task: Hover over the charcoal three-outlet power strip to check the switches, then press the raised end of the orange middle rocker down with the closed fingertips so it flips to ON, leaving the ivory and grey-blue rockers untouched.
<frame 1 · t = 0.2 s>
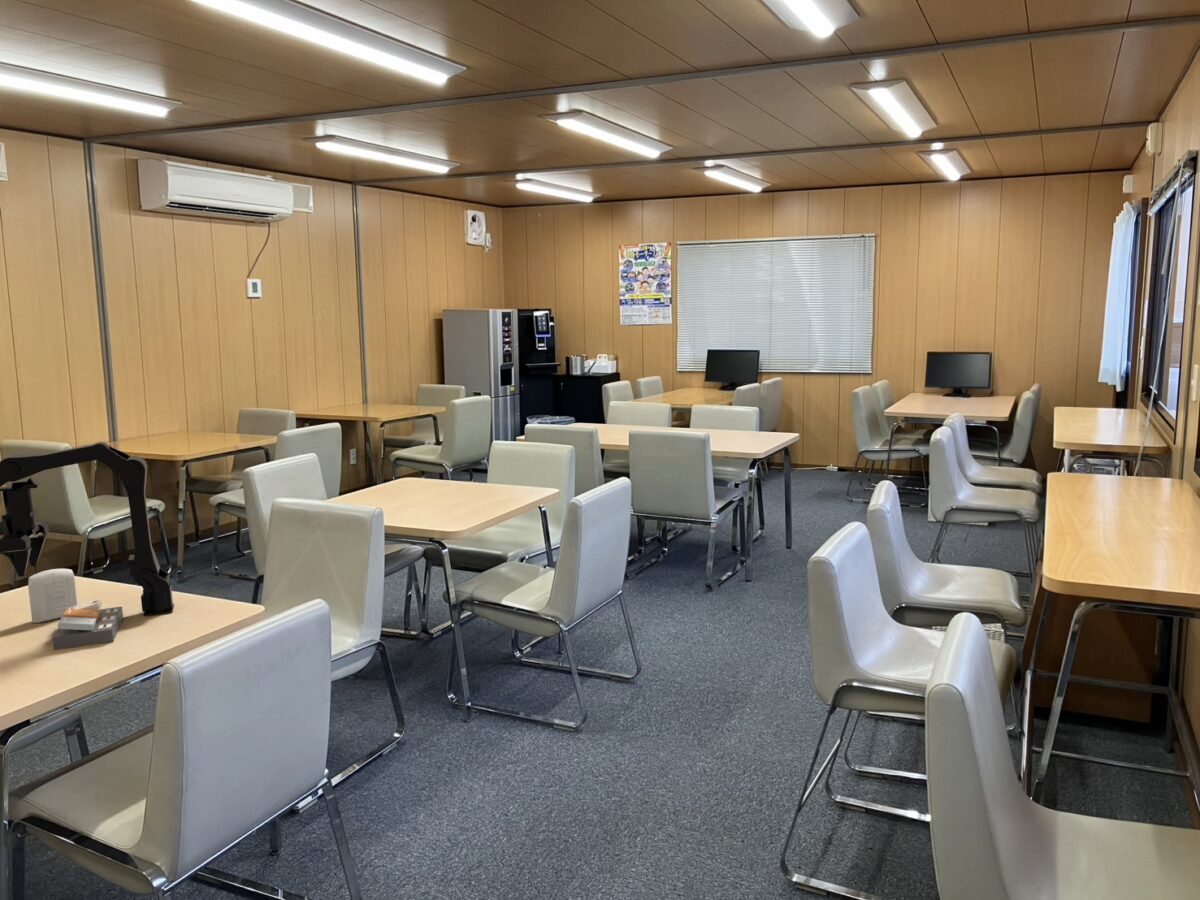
hand: (27, 571, 216), 14 cm above the table, fingers open, 9 cm apart
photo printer: (56, 618, 226), on the table
ivory rocker: (84, 608, 218), point 5 cm above the table, hinge at 12.0°
power strip: (90, 633, 214), on the table
grey-blue rocker: (77, 623, 207), point 5 cm above the table, hinge at -12.0°
orange rocker: (81, 615, 213), point 5 cm above the table, hinge at -12.0°
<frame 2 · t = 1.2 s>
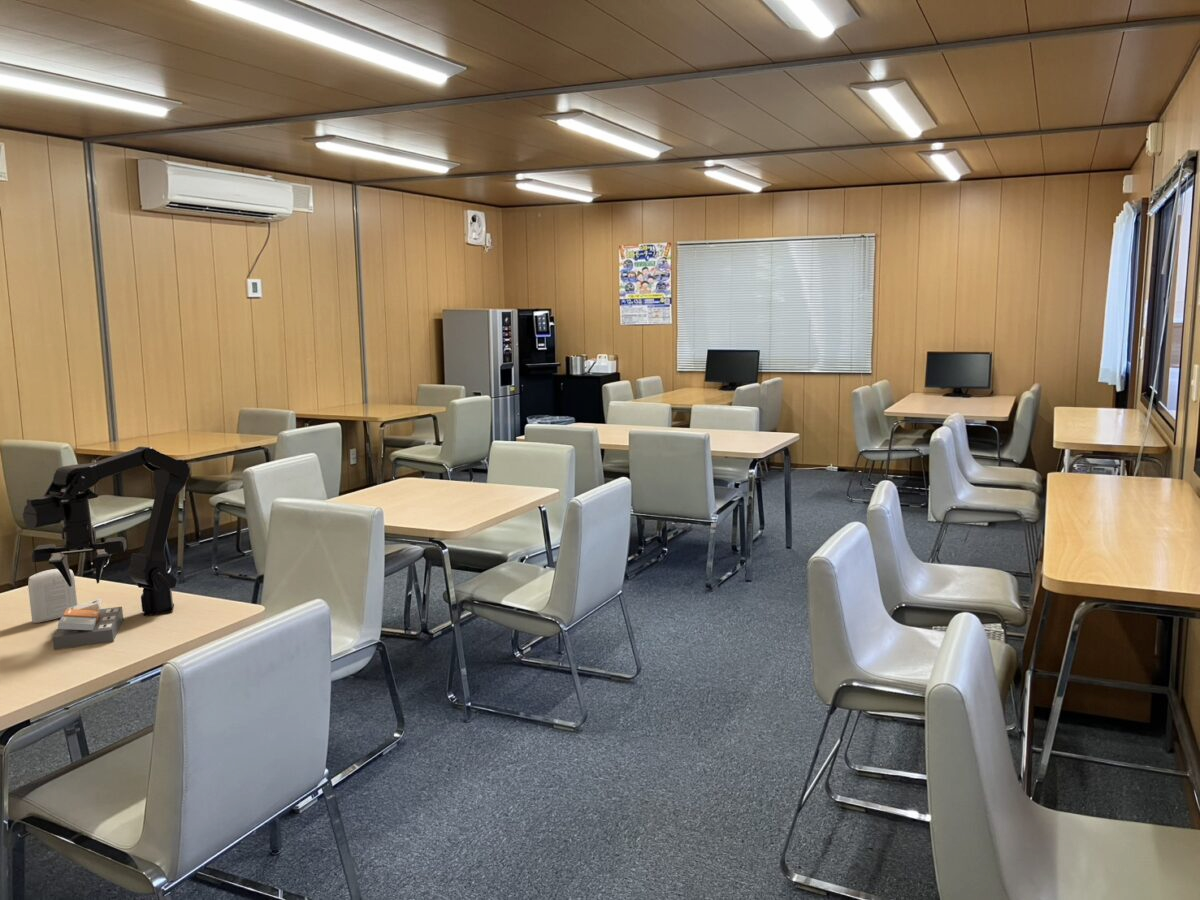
hand: (84, 584, 212), 12 cm above the table, fingers open, 5 cm apart
nothing on the table moved.
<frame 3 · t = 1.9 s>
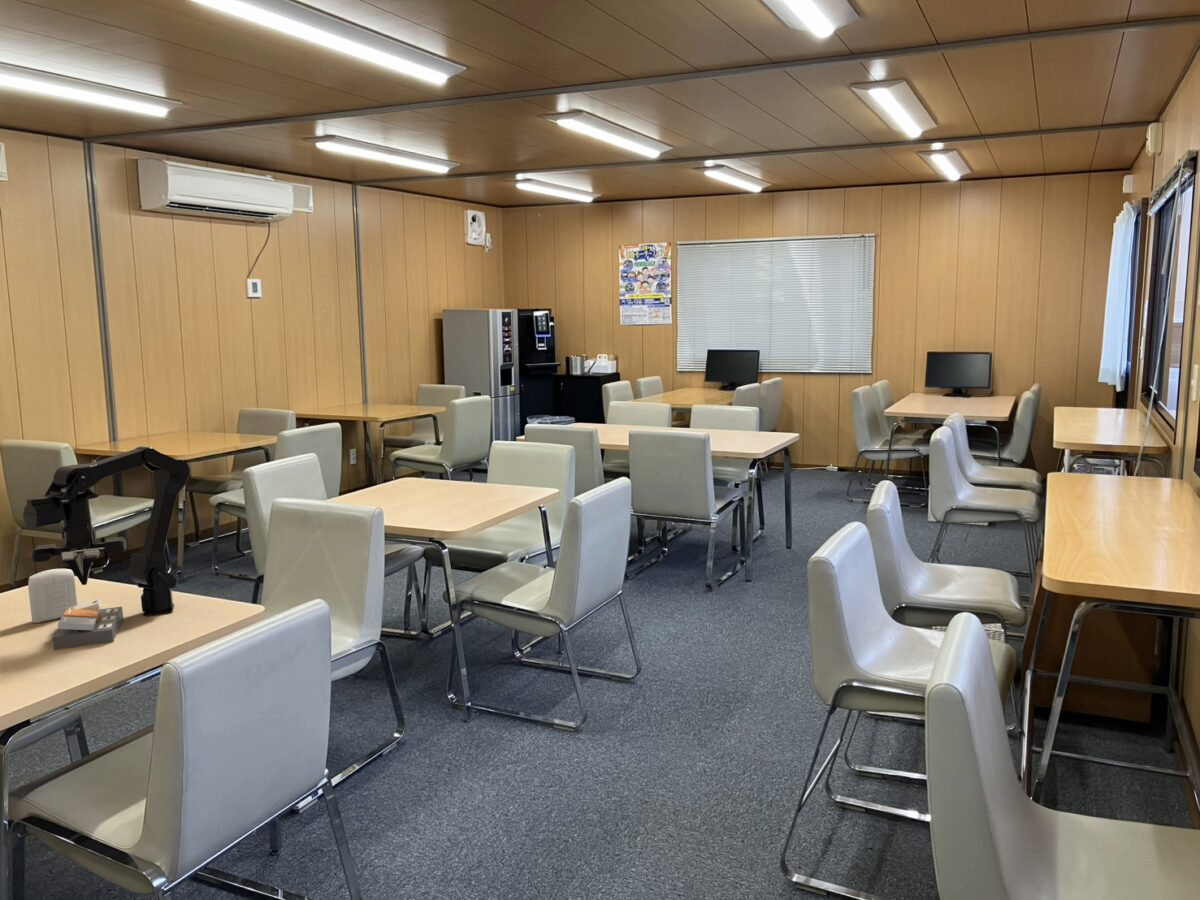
hand: (84, 584, 212), 12 cm above the table, fingers closed
nothing on the table moved.
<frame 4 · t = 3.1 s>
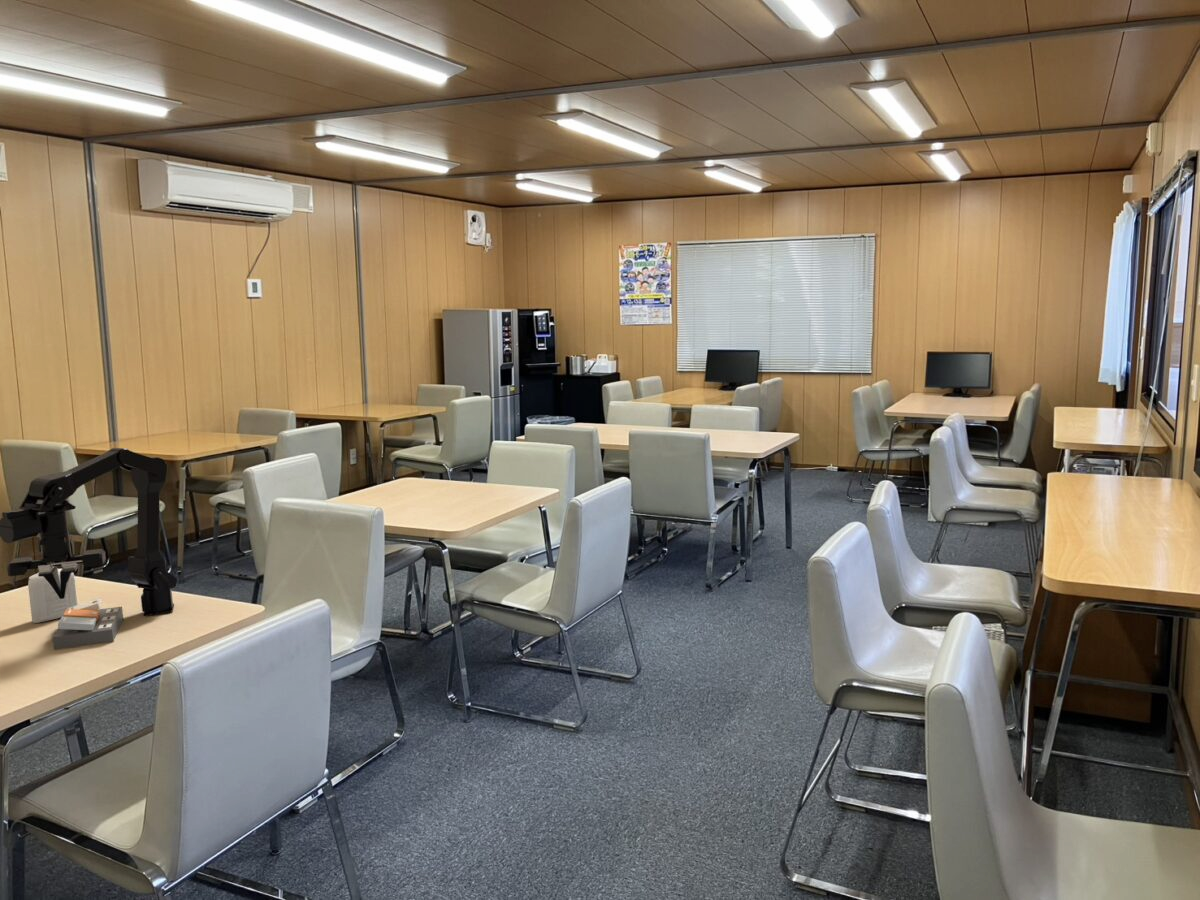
hand: (62, 598, 207), 11 cm above the table, fingers closed
nothing on the table moved.
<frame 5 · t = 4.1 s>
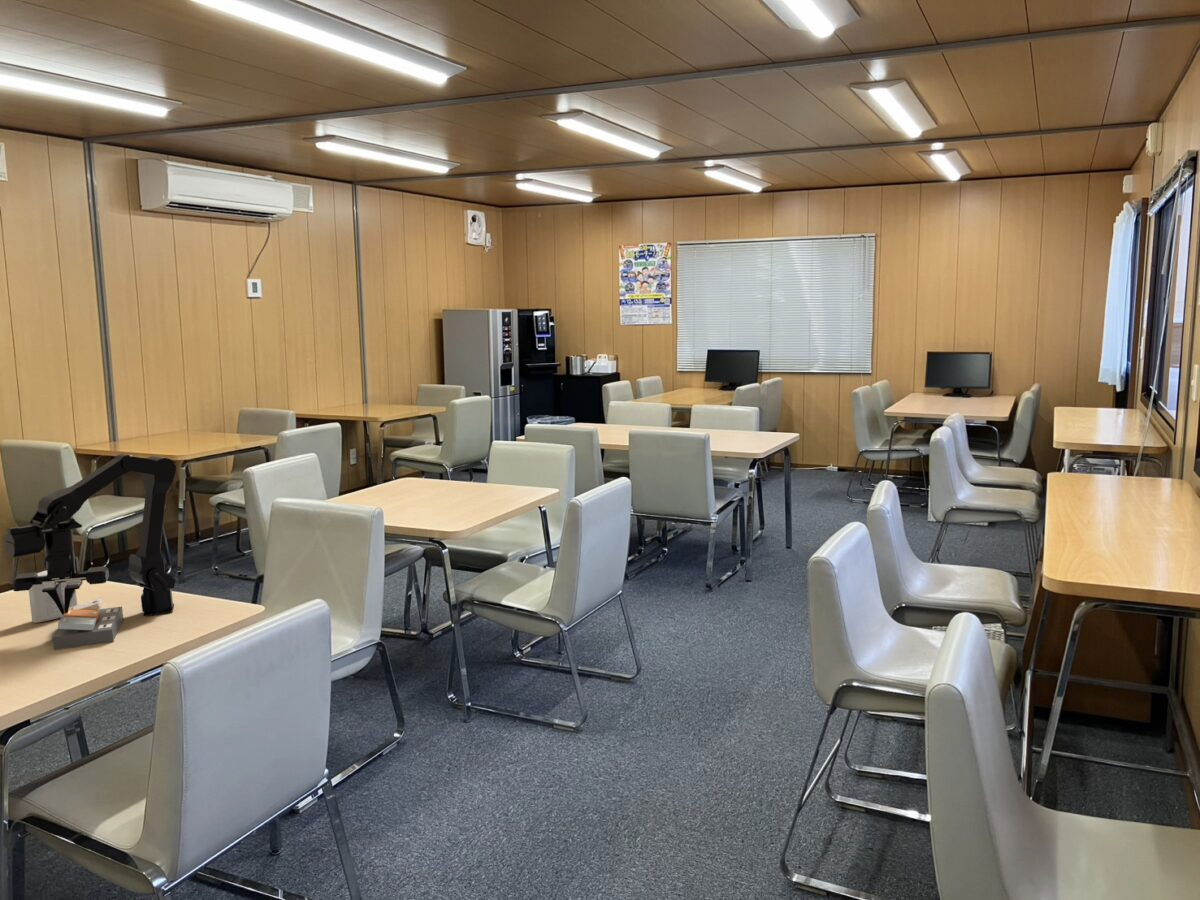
hand: (65, 613, 211), 5 cm above the table, fingers closed, pressing on orange rocker
orange rocker: (81, 615, 213), point 5 cm above the table, hinge at -11.1°, touching gripper
everything else where it was.
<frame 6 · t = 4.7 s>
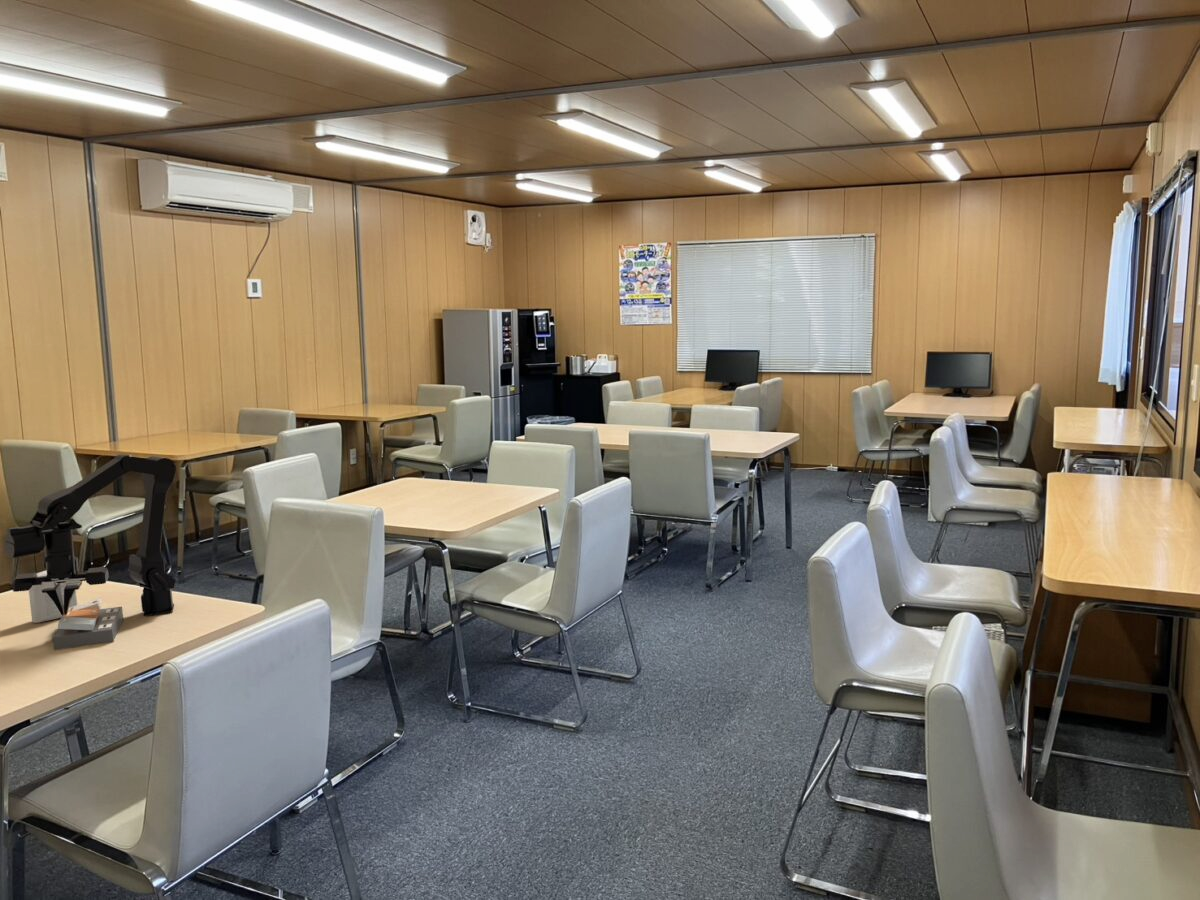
hand: (64, 614, 211), 5 cm above the table, fingers closed, pressing on orange rocker
orange rocker: (81, 615, 213), point 5 cm above the table, hinge at -3.4°, touching gripper
everything else where it was.
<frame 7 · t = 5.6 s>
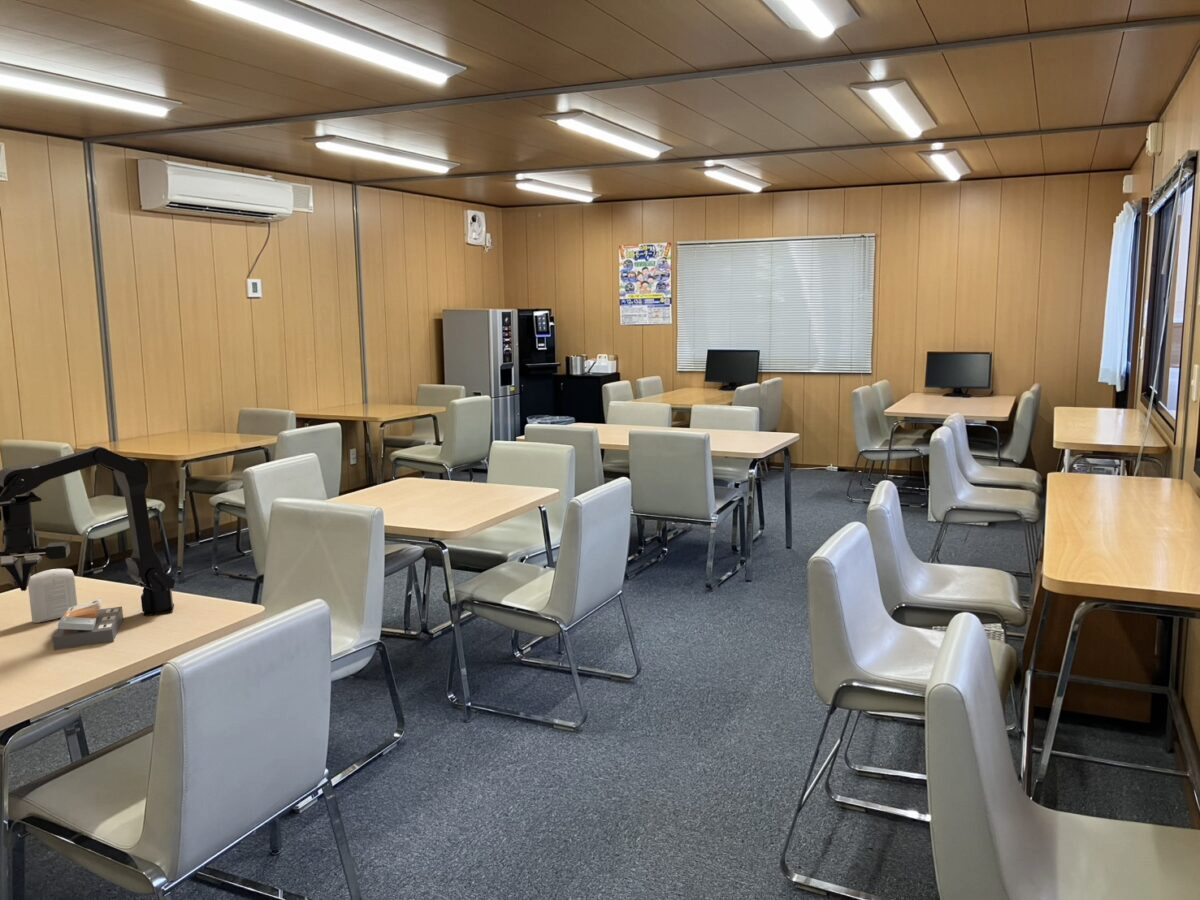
hand: (24, 590, 205), 13 cm above the table, fingers closed
orange rocker: (80, 615, 213), point 5 cm above the table, hinge at 4.1°
everything else where it was.
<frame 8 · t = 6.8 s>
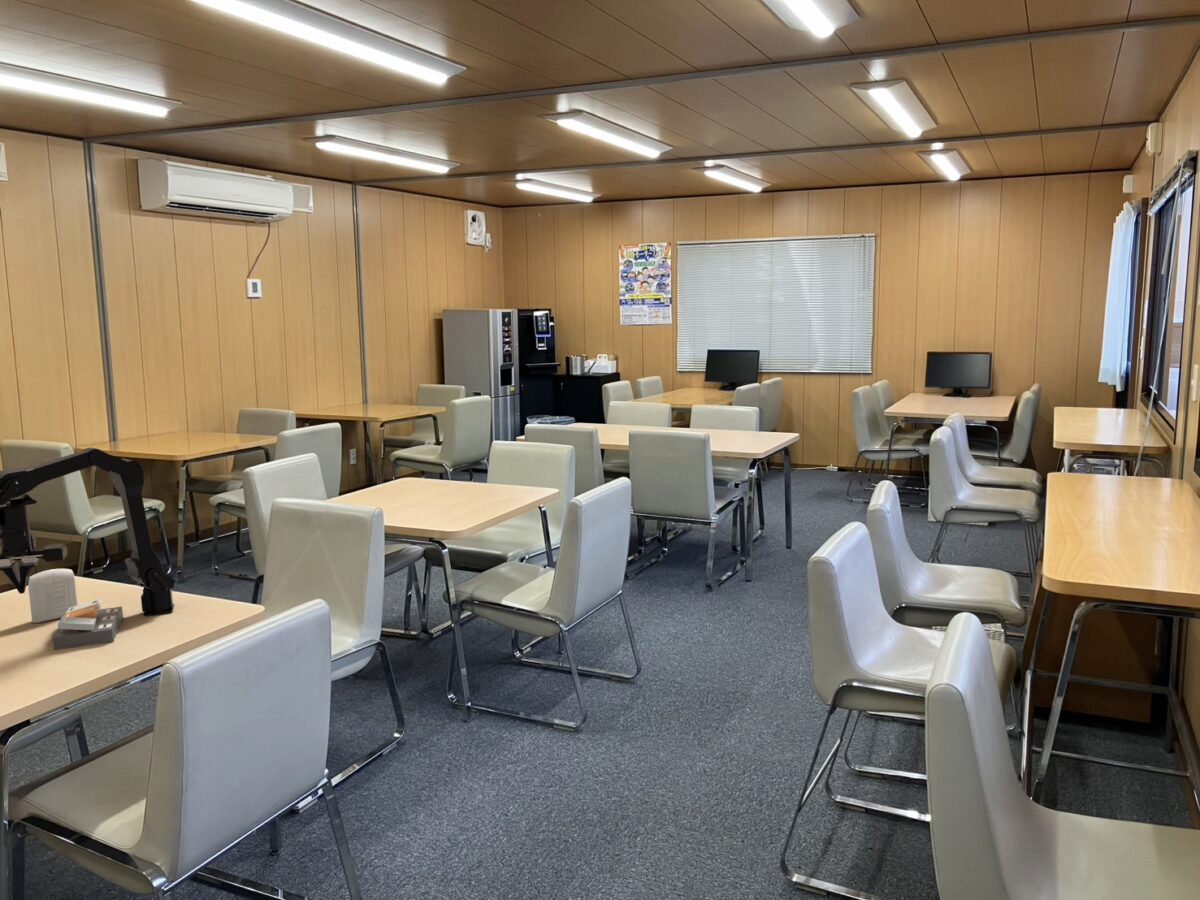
hand: (22, 593, 205), 12 cm above the table, fingers closed
orange rocker: (80, 615, 213), point 5 cm above the table, hinge at 8.7°
everything else where it was.
at the end: orange rocker at +9° (first picture: -12°); grey-blue rocker at -12° (first picture: -12°); ivory rocker at +12° (first picture: +12°) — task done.
